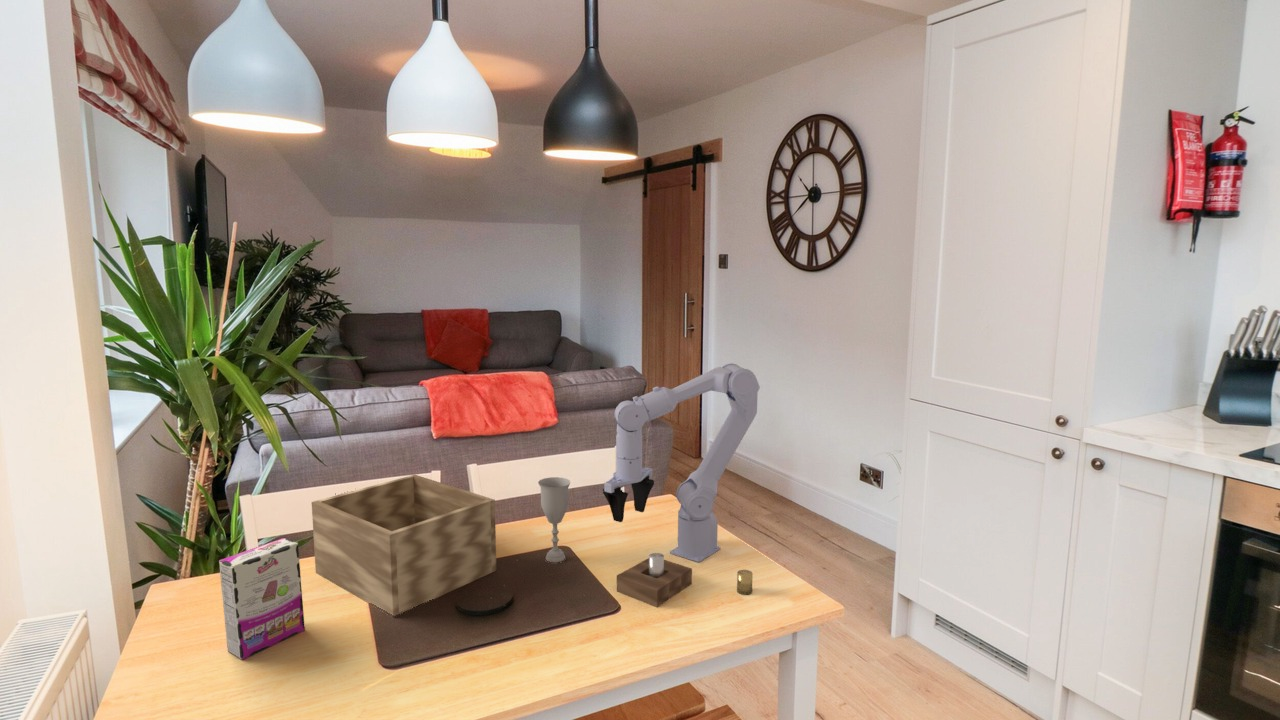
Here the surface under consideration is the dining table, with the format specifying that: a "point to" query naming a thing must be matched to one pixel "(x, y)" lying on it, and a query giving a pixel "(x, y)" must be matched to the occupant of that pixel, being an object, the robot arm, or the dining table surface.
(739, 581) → the brass pin
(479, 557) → the wooden crate
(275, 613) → the candy bar box
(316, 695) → the dining table surface
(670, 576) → the walnut block
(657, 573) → the steel pin
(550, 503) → the chalice
